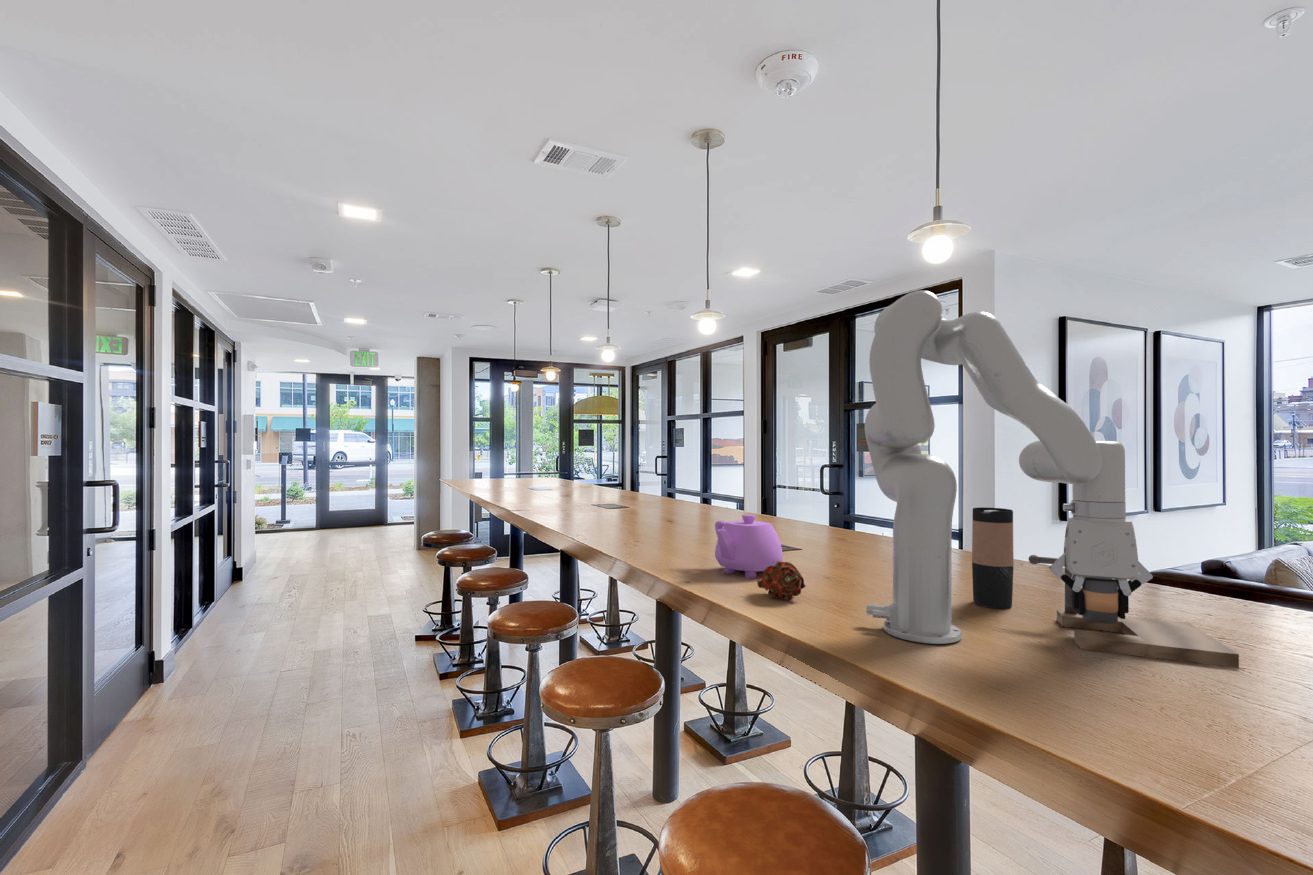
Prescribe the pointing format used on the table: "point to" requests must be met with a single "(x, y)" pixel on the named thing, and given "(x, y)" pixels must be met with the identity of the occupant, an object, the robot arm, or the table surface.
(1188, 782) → the table surface
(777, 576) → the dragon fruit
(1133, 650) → the grey frame with post
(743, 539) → the teapot
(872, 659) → the table surface
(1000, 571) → the travel mug
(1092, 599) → the coffee cup
